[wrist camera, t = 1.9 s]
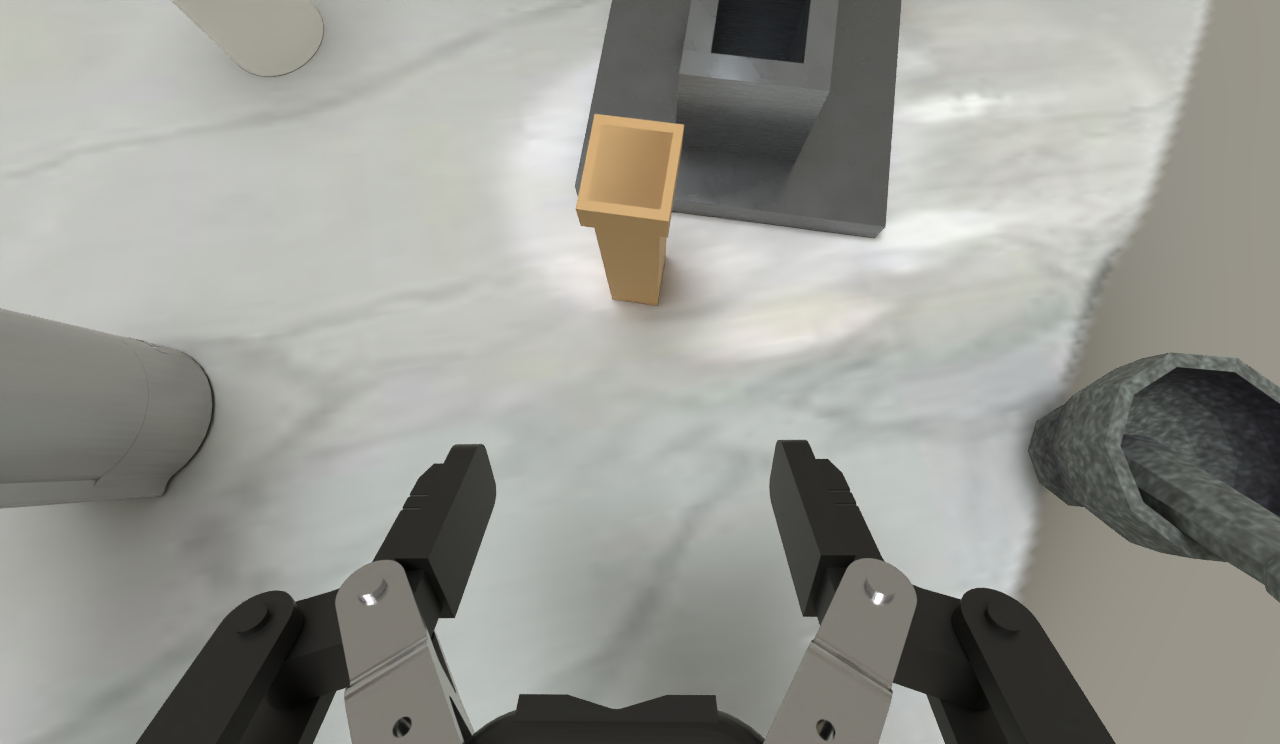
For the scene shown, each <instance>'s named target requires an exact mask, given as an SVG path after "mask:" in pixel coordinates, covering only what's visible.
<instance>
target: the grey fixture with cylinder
mask: <svg viewBox="0 0 1280 744" xmlns="http://www.w3.org/2000/svg"><path fill="white" fill-rule="evenodd" d="M900 11H901V0H612V4H611V9H610V14H609V19H608V24H607V29H606V34H605V39H604V44H603V49H602V54H601V59H600V64H599V69H598V74H597V79H596V84H595V89H594V94H593V99H592V104H591V109H590V114H589V119H588V124H587V129H586V134H585V139H584V144H583V149H582V154H581V159H580V164H579V169H578V174H577V179H576V184H575V188H576V192H577V195H579V190H580V185H581V180H582V175H583V170H584V165H585V160H586V155H587V150H588V145H589V140H590V135H591V130H592V125H593V120H594V115H595V114H601V115H609V116H617V117H625V118H633V119H642V120H650V121H658V122H666V123H675V124H683V125H684V132H683V143H682V150H681V157H680V163H679V169H678V176H677V182H676V188H675V195H674V201H673V207H672V211H675V212H682V213H690V214H697V215H705V216H712V217H720V218H728V219H735V220H743V221H750V222H758V223H765V224H773V225H781V226H788V227H796V228H803V229H811V230H818V231H826V232H833V233H841V234H849V235H856V236H864V237H871V238H875V237H876V236H877V235H878V234H879V233H880V232H881V231H882V230H883V229H884V228H885V224H886V210H887V196H888V181H889V167H890V153H891V139H892V125H893V111H894V96H895V82H896V68H897V54H898V40H899V25H900Z"/></svg>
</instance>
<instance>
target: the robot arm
mask: <svg viewBox="0 0 1280 744" xmlns="http://www.w3.org/2000/svg"><path fill="white" fill-rule="evenodd" d="M211 412H212V395H211V389H210V386H209V383H208V380H207V377H206V376H205V374H204V372H203V371H202V369H201V367H200V366H199V365H198V364H197V363H196V362H195V361H194V360H193V359H192V358H191V357H189V356H187V355H186V354H184V353H182V352H180V351H178V350H175V349H171V348H168V347H164V346H160V345H155V344H151V343H147V342H146V341H142V340H138V339H133V338H126V337H121V336H117V335H112V334H108V333H104V332H100V331H95V330H91V329H87V328H82V327H78V326H74V325H69V324H65V323H61V322H57V321H52V320H48V319H44V318H39V317H35V316H31V315H26V314H22V313H18V312H13V311H9V310H5V309H0V508H14V507H27V506H40V505H53V504H67V503H80V502H93V501H106V500H120V499H133V498H146V497H158V496H161V495H163V493H164V490H165V487H166V484H167V482H168V480H169V479H170V478H171V477H172V476H173V475H174V474H175V473H176V472H177V471H178V470H179V469H181V468H182V467H183V466H184V465H185V464H186V463H187V462H188V461H189V460H190V459H191V457H192V456H193V455H194V454H195V452H196V451H197V450H198V448H199V446H200V445H201V443H202V441H203V439H204V437H205V435H206V432H207V429H208V426H209V423H210V420H211ZM769 487H770V498H771V503H772V507H773V511H774V514H775V518H776V521H777V525H778V529H779V532H780V536H781V539H782V543H783V547H784V550H785V554H786V557H787V561H788V565H789V568H790V572H791V575H792V579H793V583H794V586H795V590H796V593H797V597H798V601H799V604H800V608H801V611H802V615H803V617H818V621H819V624H820V628H819V630H818V632H817V634H816V636H815V638H814V640H812V641H811V643H810V645H809V647H808V649H807V651H806V653H805V655H804V657H803V659H802V662H801V664H800V666H799V668H798V670H797V672H796V674H795V677H794V679H793V681H792V683H791V685H790V687H789V689H788V692H787V694H786V696H785V698H784V700H783V702H782V704H781V706H780V709H779V711H778V713H777V715H776V717H775V719H774V721H773V724H772V726H771V728H770V730H769V732H768V734H767V736H766V739H764V738H763V737H762V736H761V735H760V734H758V733H757V732H756V731H755V730H753V729H752V728H751V727H750V726H748V725H747V724H745V723H744V722H742V721H740V720H739V719H737V718H735V717H733V716H731V715H729V714H727V713H724V712H721V711H717V704H716V695H666V696H662V697H659V698H656V699H652V700H649V701H645V702H642V703H639V704H635V705H632V706H629V707H625V708H622V709H611V708H608V707H604V706H601V705H598V704H595V703H592V702H589V701H586V700H583V699H579V698H576V697H573V696H570V695H548V694H519V699H518V704H517V709H516V710H515V711H512V712H509V713H507V714H504V715H502V716H500V717H498V718H496V719H494V720H493V721H491V722H489V723H488V724H486V725H485V726H483V727H482V728H481V729H479V730H478V731H477V732H474V730H473V727H472V725H471V723H470V720H469V718H468V716H467V713H466V711H465V709H464V706H463V704H462V701H461V699H460V696H459V694H458V691H457V688H456V685H455V683H454V680H453V677H452V674H451V672H450V669H449V666H448V664H447V661H446V658H445V655H444V653H443V650H442V647H441V644H440V642H439V639H438V636H437V634H436V632H435V630H434V629H435V626H436V624H437V621H438V618H455V616H456V613H457V610H458V607H459V605H460V602H461V599H462V596H463V593H464V590H465V587H466V585H467V582H468V579H469V576H470V573H471V570H472V567H473V565H474V562H475V559H476V556H477V553H478V550H479V547H480V545H481V542H482V539H483V536H484V533H485V530H486V527H487V525H488V522H489V519H490V516H491V513H492V510H493V507H494V504H495V499H496V484H495V480H494V476H493V473H492V469H491V465H490V462H489V458H488V455H487V451H486V448H485V446H484V445H483V444H456V445H454V446H453V447H452V448H451V450H450V452H449V454H448V456H447V458H446V460H445V462H444V463H443V464H433V465H432V466H431V467H430V468H429V469H428V470H427V471H426V472H425V473H424V474H423V475H422V476H420V477H419V479H418V481H417V482H416V484H415V486H414V488H413V490H412V491H411V493H410V497H408V499H407V500H406V502H405V504H404V506H403V510H401V511H400V513H399V515H398V517H397V518H396V520H395V522H394V524H393V526H392V527H391V529H390V531H389V533H388V535H387V536H386V538H385V540H384V542H383V544H382V545H381V547H380V549H379V551H378V553H377V554H376V556H375V558H374V560H373V561H372V563H369V564H367V565H365V566H363V567H361V568H359V569H358V570H357V571H355V572H354V573H353V574H351V575H350V576H349V577H348V578H347V579H346V580H345V581H344V583H343V584H342V586H341V587H340V588H339V589H337V590H334V591H331V592H328V593H324V594H321V595H317V596H314V597H311V598H307V599H304V600H300V601H297V602H295V601H294V600H293V598H292V597H291V596H290V595H289V594H288V593H286V592H283V591H268V592H265V593H261V594H259V595H256V596H254V597H252V598H250V599H248V600H246V601H245V602H243V603H242V604H240V605H239V606H238V607H236V608H235V609H234V610H233V611H231V612H230V613H229V614H228V615H227V616H226V617H225V618H224V620H223V621H222V622H221V624H220V625H219V626H218V628H217V629H216V631H215V632H214V633H213V635H212V636H211V638H210V639H209V641H208V642H207V643H206V645H205V646H204V648H203V649H202V650H201V652H200V653H199V655H198V656H197V658H196V659H195V660H194V662H193V663H192V665H191V666H190V667H189V669H188V670H187V672H186V673H185V675H184V676H183V677H182V679H181V680H180V682H179V683H178V685H177V686H176V687H175V689H174V690H173V692H172V693H171V694H170V696H169V697H168V699H167V700H166V702H165V703H164V704H163V706H162V707H161V709H160V710H159V711H158V713H157V714H156V716H155V717H154V719H153V720H152V721H151V723H150V724H149V726H148V727H147V729H146V730H145V731H144V733H143V734H142V736H141V737H140V738H139V740H138V741H137V743H136V744H313V742H314V740H315V738H316V736H317V733H318V731H319V729H320V727H321V724H322V722H323V720H324V718H325V715H326V713H327V711H328V709H329V706H330V704H331V702H332V700H333V697H334V695H335V693H336V691H337V690H340V689H343V688H346V687H347V688H346V689H345V692H344V699H345V707H346V712H347V718H348V723H349V729H350V735H351V740H352V744H878V743H879V739H880V736H881V733H882V729H883V726H884V723H885V720H886V716H887V713H888V710H889V706H890V703H891V698H892V693H893V691H892V690H891V687H892V683H896V684H899V685H901V686H904V687H907V688H910V689H913V690H916V691H919V692H922V693H925V694H926V695H927V698H928V700H929V703H930V705H931V708H932V711H933V713H934V716H935V718H936V721H937V724H938V726H939V729H940V731H941V734H942V737H943V739H944V742H945V744H1115V742H1114V741H1113V739H1112V737H1111V736H1110V734H1109V732H1108V731H1107V729H1106V728H1105V726H1104V725H1103V723H1102V721H1101V720H1100V718H1099V717H1098V715H1097V714H1096V712H1095V710H1094V709H1093V707H1092V706H1091V704H1090V703H1089V701H1088V699H1087V698H1086V696H1085V695H1084V693H1083V691H1082V690H1081V688H1080V687H1079V685H1078V683H1077V682H1076V680H1075V679H1074V677H1073V676H1072V674H1071V672H1070V671H1069V669H1068V668H1067V666H1066V665H1065V663H1064V661H1063V660H1062V658H1061V657H1060V655H1059V653H1058V652H1057V650H1056V649H1055V647H1054V646H1053V644H1052V643H1051V641H1050V639H1049V638H1048V636H1047V635H1046V633H1045V631H1044V630H1043V628H1042V627H1041V625H1040V623H1039V622H1038V621H1037V619H1036V618H1035V617H1034V615H1032V613H1031V612H1030V611H1029V610H1028V609H1027V608H1026V607H1025V606H1023V605H1022V604H1021V603H1019V602H1018V601H1017V600H1015V599H1013V598H1012V597H1010V596H1008V595H1006V594H1004V593H1002V592H999V591H996V590H993V589H988V588H975V589H971V590H969V591H967V592H966V593H965V594H964V595H963V597H962V599H957V598H954V597H950V596H947V595H943V594H940V593H936V592H932V591H929V590H925V589H922V588H919V587H917V586H915V585H912V584H911V582H910V581H909V579H908V578H907V577H906V576H905V575H904V574H903V573H902V572H901V571H900V570H898V569H897V568H896V567H894V566H892V565H891V564H889V563H886V562H885V561H884V560H883V558H882V556H881V554H880V552H879V550H878V548H877V546H876V544H875V542H874V539H873V537H872V535H871V533H870V531H869V529H868V527H867V525H866V522H865V520H864V518H863V516H862V514H861V512H860V510H859V508H858V506H856V501H855V499H854V497H853V495H852V493H850V488H849V486H848V484H847V482H846V480H845V478H844V476H843V474H842V472H841V471H840V470H839V469H838V468H837V467H835V466H834V465H833V464H832V463H831V462H830V461H829V460H828V459H815V457H814V454H813V452H812V449H811V447H810V445H809V443H808V441H807V440H778V441H777V443H776V447H775V453H774V458H773V464H772V470H771V476H770V486H769Z"/></svg>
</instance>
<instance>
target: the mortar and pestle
mask: <svg viewBox="0 0 1280 744" xmlns="http://www.w3.org/2000/svg"><path fill="white" fill-rule="evenodd" d="M1028 452H1029V454H1030V457H1031V460H1032V462H1033V465H1034V468H1035V471H1036V473H1037V476H1038V479H1039V481H1040V483H1041V484H1042V485H1043V486H1045V487H1046V488H1047V489H1048V490H1050V491H1051V492H1052V493H1054V494H1055V495H1056V496H1057V497H1059V498H1060V499H1061V500H1063V501H1064V502H1065V503H1066V504H1068V505H1071V506H1081V507H1085V508H1086V509H1088V510H1089V511H1090V512H1091V513H1093V514H1094V515H1095V516H1097V517H1098V518H1099V519H1100V520H1102V521H1103V522H1104V523H1105V524H1107V525H1108V526H1109V527H1111V528H1112V529H1113V530H1115V531H1116V532H1117V533H1118V534H1120V535H1121V536H1122V537H1124V538H1125V539H1126V540H1128V541H1129V542H1131V543H1134V544H1137V545H1140V546H1143V547H1146V548H1149V549H1152V550H1155V551H1158V552H1161V553H1166V554H1171V555H1177V556H1182V557H1188V558H1194V559H1203V560H1213V561H1222V562H1229V563H1230V564H1232V565H1234V566H1235V567H1237V568H1238V569H1240V570H1241V571H1243V572H1245V573H1246V574H1248V575H1250V576H1251V577H1253V578H1255V579H1256V580H1258V581H1259V582H1261V583H1262V584H1264V585H1265V587H1266V591H1267V592H1268V593H1269V594H1270V595H1271V596H1273V597H1274V598H1275V599H1276V600H1277V601H1278V602H1280V388H1279V387H1278V386H1276V385H1275V384H1274V383H1272V382H1271V381H1269V380H1268V379H1266V378H1265V377H1264V376H1262V375H1261V374H1259V373H1258V372H1257V371H1255V370H1254V369H1252V368H1251V367H1249V366H1248V365H1247V364H1245V363H1243V362H1242V361H1241V360H1239V359H1238V358H1227V357H1216V356H1203V355H1192V354H1181V353H1166V354H1161V355H1157V356H1152V357H1147V358H1142V359H1140V360H1137V361H1134V362H1132V363H1129V364H1127V365H1124V366H1121V367H1119V368H1116V369H1114V370H1113V371H1111V372H1109V373H1108V374H1106V375H1105V376H1103V377H1101V378H1100V379H1098V380H1097V381H1095V382H1094V383H1092V384H1091V385H1089V386H1087V387H1086V388H1084V389H1082V390H1081V391H1079V392H1078V393H1076V394H1074V395H1073V396H1072V397H1071V398H1070V399H1069V400H1068V401H1067V402H1066V403H1065V404H1064V405H1062V406H1061V407H1059V408H1057V409H1056V410H1054V411H1053V412H1051V413H1049V414H1048V415H1046V416H1045V417H1043V418H1042V419H1040V420H1038V421H1037V423H1036V426H1035V429H1034V433H1033V436H1032V440H1031V443H1030V446H1029V450H1028Z"/></svg>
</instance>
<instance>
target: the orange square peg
mask: <svg viewBox="0 0 1280 744" xmlns="http://www.w3.org/2000/svg"><path fill="white" fill-rule="evenodd" d="M683 132H684V125H683V124H675V123H666V122H658V121H650V120H642V119H633V118H625V117H617V116H609V115H601V114H595V115H594V120H593V125H592V130H591V135H590V140H589V145H588V150H587V155H586V160H585V165H584V170H583V175H582V180H581V185H580V190H579V195H578V200H577V205H576V211H577V214H578V218H579V221H580V224H581V226H586V227H594V228H595V232H596V236H597V240H598V244H599V248H600V252H601V256H602V260H603V264H604V268H605V272H606V276H607V280H608V284H609V288H610V292H611V296H612V299H615V300H622V301H629V302H636V303H643V304H650V305H657V306H658V299H659V293H660V287H661V280H662V274H663V268H664V261H665V254H666V238H667V237H668V232H669V226H670V220H671V213H672V207H673V201H674V195H675V188H676V182H677V176H678V169H679V163H680V157H681V150H682V143H683Z"/></svg>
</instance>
